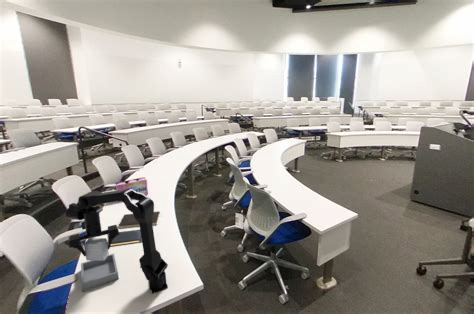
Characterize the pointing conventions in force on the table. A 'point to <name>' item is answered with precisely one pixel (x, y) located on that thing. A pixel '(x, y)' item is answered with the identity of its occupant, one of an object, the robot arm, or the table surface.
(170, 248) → the table surface
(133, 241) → the dark gray book
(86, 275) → the bin
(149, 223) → the robot arm
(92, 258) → the medicine box
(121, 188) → the gum box
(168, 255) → the table surface
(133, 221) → the hardcover book
